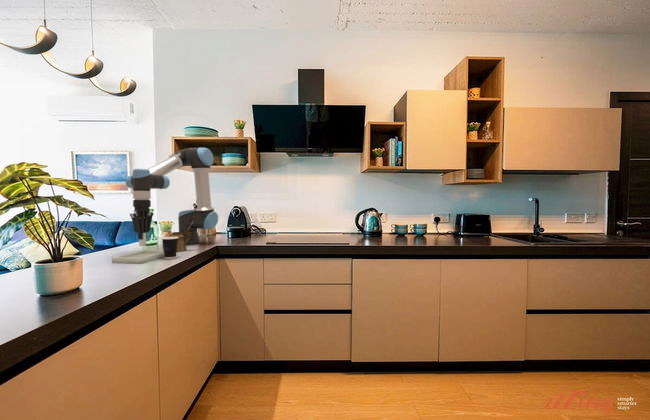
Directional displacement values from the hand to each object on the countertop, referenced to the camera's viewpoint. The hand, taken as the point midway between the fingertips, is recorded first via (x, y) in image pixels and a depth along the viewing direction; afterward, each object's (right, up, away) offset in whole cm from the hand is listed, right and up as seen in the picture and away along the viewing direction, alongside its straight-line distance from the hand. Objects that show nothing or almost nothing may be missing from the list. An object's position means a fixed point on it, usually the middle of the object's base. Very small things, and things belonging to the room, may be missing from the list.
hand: (142, 245), depth 143 cm
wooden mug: (+9, -6, +23) cm, 25 cm away
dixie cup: (+13, -7, +2) cm, 15 cm away
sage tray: (0, -7, 0) cm, 7 cm away
